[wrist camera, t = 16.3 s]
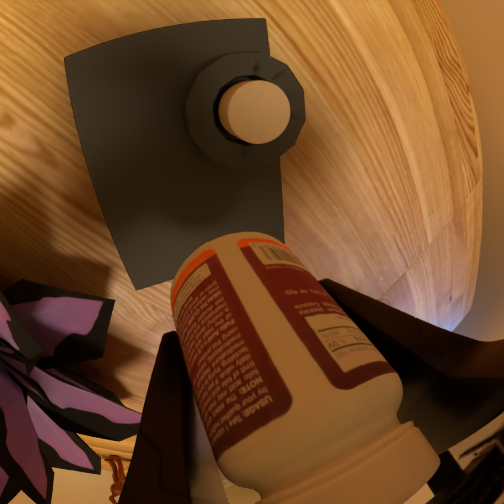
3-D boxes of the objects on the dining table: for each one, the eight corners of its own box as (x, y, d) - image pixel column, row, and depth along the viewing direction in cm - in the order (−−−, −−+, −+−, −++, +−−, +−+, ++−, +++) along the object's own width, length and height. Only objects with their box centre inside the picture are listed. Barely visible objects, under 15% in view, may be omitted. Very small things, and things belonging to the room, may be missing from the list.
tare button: (272, 79, 11) (288, 78, 10) (277, 133, 13) (292, 138, 11) (214, 85, 10) (223, 84, 9) (222, 143, 12) (232, 149, 11)
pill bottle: (197, 347, 11) (275, 538, 4) (145, 262, 8) (229, 579, 1) (300, 302, 12) (416, 465, 5) (284, 206, 9) (496, 425, 2)
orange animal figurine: (190, 458, 40) (212, 517, 29) (174, 466, 41) (193, 521, 31) (100, 450, 29) (116, 525, 19) (91, 459, 31) (105, 525, 20)
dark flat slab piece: (269, 23, 11) (296, 12, 9) (287, 231, 19) (308, 253, 17) (70, 60, 9) (53, 53, 6) (135, 277, 17) (137, 308, 15)
